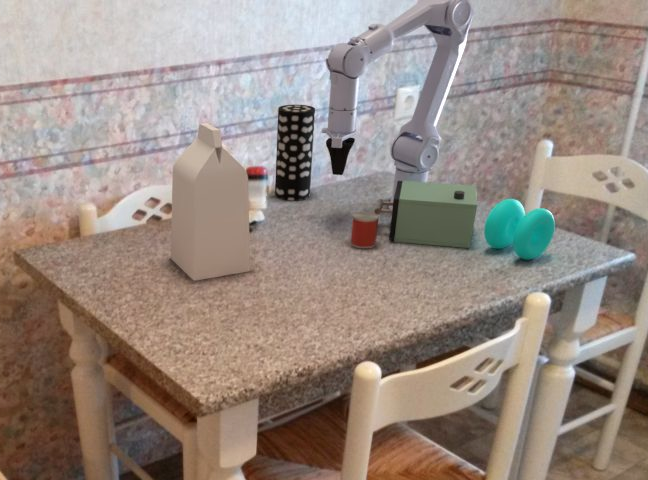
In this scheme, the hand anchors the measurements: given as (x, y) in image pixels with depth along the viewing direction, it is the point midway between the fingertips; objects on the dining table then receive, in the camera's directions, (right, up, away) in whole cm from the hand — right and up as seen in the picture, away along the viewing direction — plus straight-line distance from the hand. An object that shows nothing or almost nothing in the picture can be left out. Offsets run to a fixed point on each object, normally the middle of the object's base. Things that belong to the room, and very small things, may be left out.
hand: (337, 174), depth 173 cm
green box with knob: (+20, -13, -2) cm, 24 cm away
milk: (-27, -22, -16) cm, 38 cm away
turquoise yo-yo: (+33, -19, -11) cm, 40 cm away
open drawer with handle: (+17, -12, -1) cm, 21 cm away
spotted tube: (-8, 0, +21) cm, 23 cm away
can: (+4, -16, -7) cm, 18 cm away
